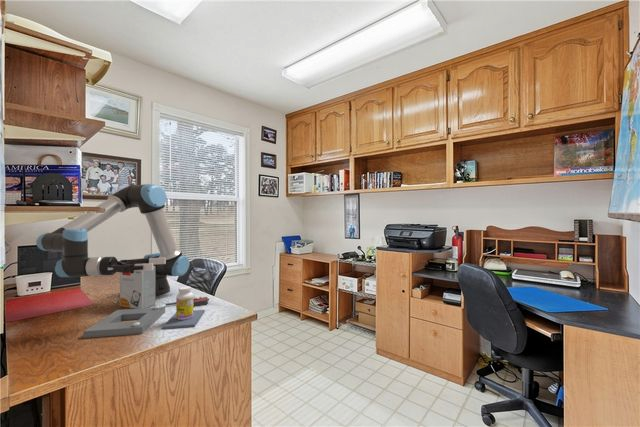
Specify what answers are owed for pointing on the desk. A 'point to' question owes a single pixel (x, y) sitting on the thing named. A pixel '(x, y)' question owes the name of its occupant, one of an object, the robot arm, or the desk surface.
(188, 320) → the mat
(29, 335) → the desk surface
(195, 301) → the walkie-talkie
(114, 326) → the frame
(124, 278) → the hard drive box
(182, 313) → the supplement bottle
